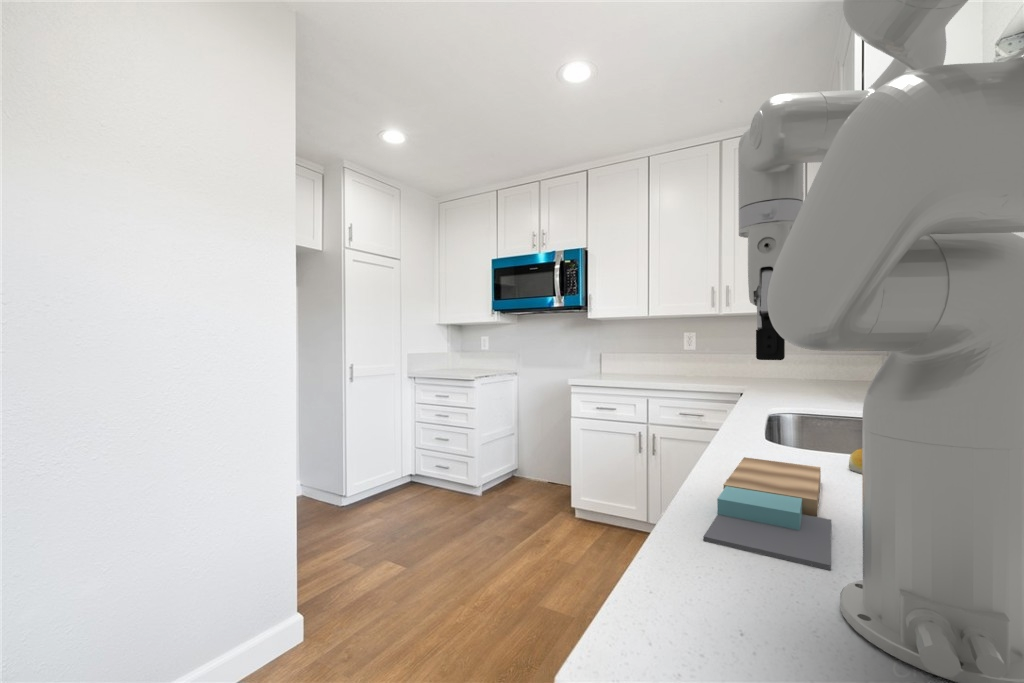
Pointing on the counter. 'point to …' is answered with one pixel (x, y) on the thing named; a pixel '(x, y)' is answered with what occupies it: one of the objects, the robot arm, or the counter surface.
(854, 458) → the bread roll
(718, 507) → the teal tile
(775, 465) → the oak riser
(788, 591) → the counter surface
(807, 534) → the charcoal mat
